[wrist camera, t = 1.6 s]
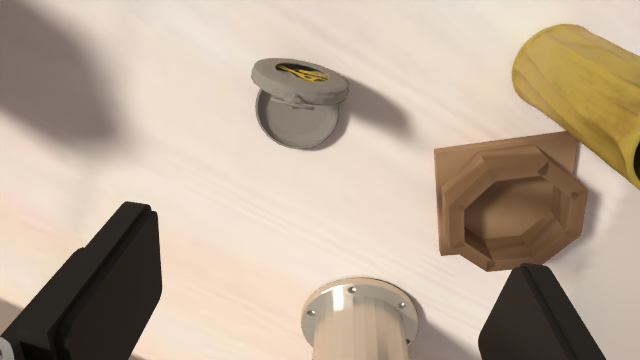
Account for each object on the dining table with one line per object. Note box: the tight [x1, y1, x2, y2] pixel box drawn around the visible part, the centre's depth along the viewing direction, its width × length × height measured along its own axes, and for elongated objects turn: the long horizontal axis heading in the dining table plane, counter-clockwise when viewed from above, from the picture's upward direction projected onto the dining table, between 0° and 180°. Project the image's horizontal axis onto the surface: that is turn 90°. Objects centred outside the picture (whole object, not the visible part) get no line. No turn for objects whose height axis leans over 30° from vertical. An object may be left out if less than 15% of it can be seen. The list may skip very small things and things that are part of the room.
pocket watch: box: [251, 58, 349, 149], centre depth 29 cm, size 8×8×10 cm
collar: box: [434, 131, 588, 272], centre depth 35 cm, size 11×11×4 cm
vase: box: [512, 24, 640, 190], centre depth 25 cm, size 6×6×14 cm
